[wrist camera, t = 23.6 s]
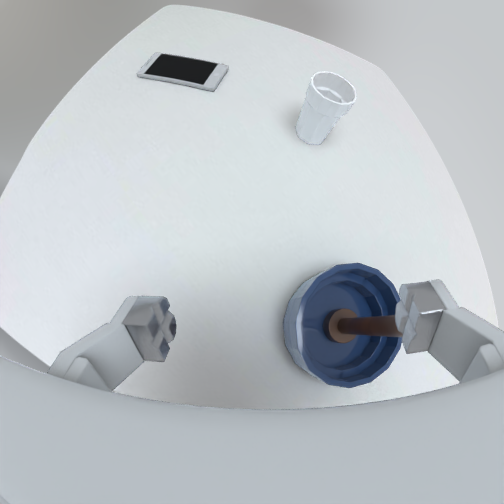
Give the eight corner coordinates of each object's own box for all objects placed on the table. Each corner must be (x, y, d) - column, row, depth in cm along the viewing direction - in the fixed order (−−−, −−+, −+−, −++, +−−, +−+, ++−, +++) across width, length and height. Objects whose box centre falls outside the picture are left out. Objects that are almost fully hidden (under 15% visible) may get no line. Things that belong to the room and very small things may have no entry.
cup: (295, 112, 43) (314, 65, 32) (332, 125, 43) (357, 82, 33) (287, 140, 41) (307, 92, 31) (327, 154, 42) (355, 111, 31)
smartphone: (213, 91, 42) (213, 88, 41) (136, 76, 41) (135, 73, 40) (229, 68, 44) (229, 65, 43) (155, 55, 43) (155, 51, 42)
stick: (348, 345, 35) (443, 356, 17) (318, 338, 35) (405, 349, 17) (356, 313, 36) (452, 303, 19) (327, 305, 36) (416, 290, 18)
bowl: (365, 385, 34) (388, 393, 29) (268, 365, 34) (279, 374, 28) (388, 288, 38) (412, 282, 32) (299, 258, 37) (314, 247, 31)
